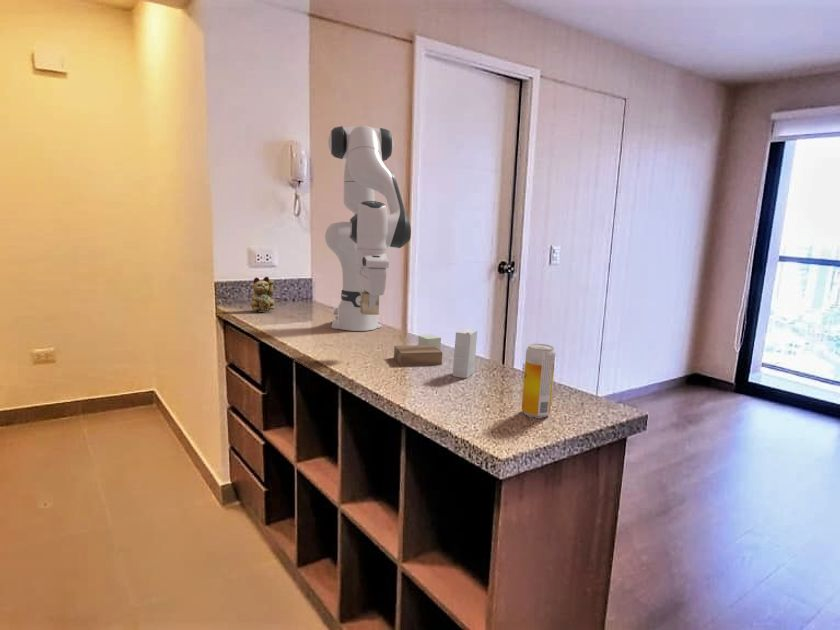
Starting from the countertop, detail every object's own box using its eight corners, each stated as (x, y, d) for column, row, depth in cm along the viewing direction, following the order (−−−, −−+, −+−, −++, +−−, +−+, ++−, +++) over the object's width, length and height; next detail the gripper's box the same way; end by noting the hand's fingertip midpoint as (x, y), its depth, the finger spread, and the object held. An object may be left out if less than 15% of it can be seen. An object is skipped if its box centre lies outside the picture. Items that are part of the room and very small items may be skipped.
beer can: (537, 407, 120) (542, 342, 118) (555, 416, 115) (562, 348, 112) (515, 411, 117) (520, 344, 115) (533, 420, 112) (539, 350, 110)
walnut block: (393, 359, 159) (394, 345, 158) (432, 357, 162) (433, 345, 162) (401, 367, 151) (401, 353, 150) (441, 365, 154) (442, 352, 153)
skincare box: (459, 371, 148) (462, 328, 146) (475, 373, 146) (477, 329, 144) (451, 376, 142) (454, 331, 140) (467, 379, 140) (470, 333, 138)
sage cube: (418, 351, 169) (418, 335, 168) (431, 349, 171) (431, 334, 170) (426, 355, 165) (427, 339, 164) (440, 353, 167) (441, 337, 166)
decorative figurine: (255, 314, 220) (254, 277, 217) (246, 311, 226) (246, 275, 223) (277, 312, 226) (277, 276, 224) (268, 309, 232) (268, 274, 230)
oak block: (360, 311, 158) (360, 291, 157) (375, 311, 160) (375, 291, 159) (363, 314, 154) (364, 294, 153) (378, 314, 156) (379, 294, 155)
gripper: (353, 255, 163) (352, 300, 165) (367, 261, 144) (366, 312, 146) (373, 255, 165) (372, 300, 167) (390, 262, 146) (388, 312, 148)
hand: (369, 306), depth 157 cm, fingers closed on oak block, 4 cm apart
